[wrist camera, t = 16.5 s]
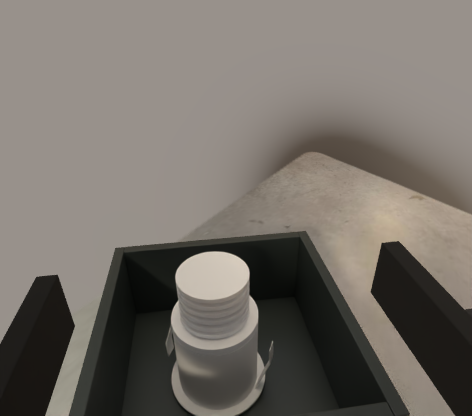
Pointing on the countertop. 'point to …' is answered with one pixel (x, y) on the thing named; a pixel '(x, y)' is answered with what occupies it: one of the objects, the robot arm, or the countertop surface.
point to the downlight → (215, 337)
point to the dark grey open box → (269, 329)
